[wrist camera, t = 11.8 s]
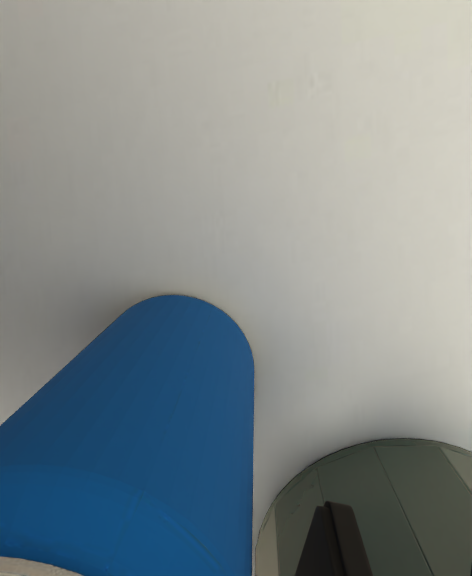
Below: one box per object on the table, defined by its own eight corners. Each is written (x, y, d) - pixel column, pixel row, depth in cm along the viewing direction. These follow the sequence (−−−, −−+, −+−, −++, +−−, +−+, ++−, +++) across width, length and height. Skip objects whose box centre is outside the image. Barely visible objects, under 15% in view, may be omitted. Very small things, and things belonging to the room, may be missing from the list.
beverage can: (160, 447, 18) (-14, 909, 6) (79, 335, 17) (-311, 652, 5) (281, 387, 17) (334, 809, 5) (204, 261, 16) (59, 458, 4)
